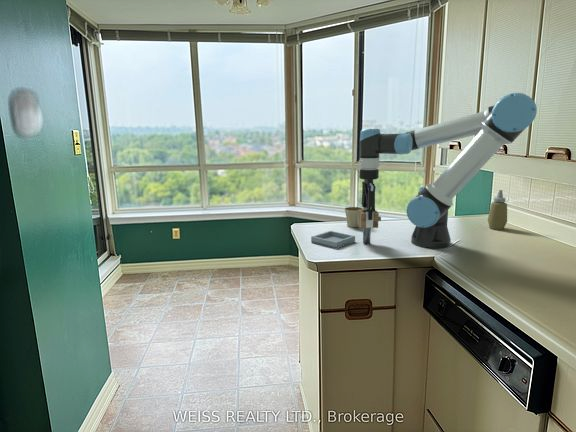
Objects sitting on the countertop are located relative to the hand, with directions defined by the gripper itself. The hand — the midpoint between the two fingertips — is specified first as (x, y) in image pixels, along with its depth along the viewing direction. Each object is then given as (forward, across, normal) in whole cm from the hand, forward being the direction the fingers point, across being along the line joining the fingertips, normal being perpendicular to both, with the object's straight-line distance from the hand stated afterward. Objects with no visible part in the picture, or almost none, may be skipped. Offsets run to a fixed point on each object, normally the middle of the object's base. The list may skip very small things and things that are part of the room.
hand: (367, 225), depth 158 cm
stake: (+8, 0, 0) cm, 8 cm away
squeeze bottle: (+8, -22, +65) cm, 69 cm away
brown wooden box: (0, 0, 0) cm, 0 cm away
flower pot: (+8, -30, -1) cm, 31 cm away
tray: (+8, -3, -14) cm, 16 cm away
